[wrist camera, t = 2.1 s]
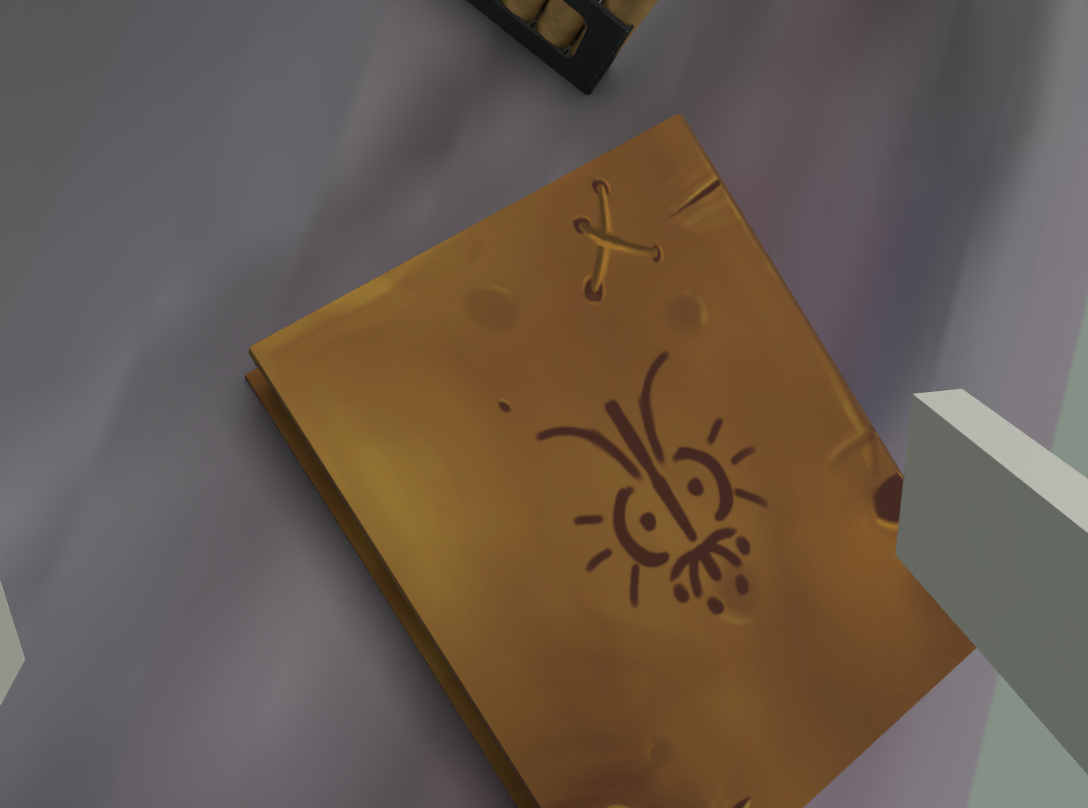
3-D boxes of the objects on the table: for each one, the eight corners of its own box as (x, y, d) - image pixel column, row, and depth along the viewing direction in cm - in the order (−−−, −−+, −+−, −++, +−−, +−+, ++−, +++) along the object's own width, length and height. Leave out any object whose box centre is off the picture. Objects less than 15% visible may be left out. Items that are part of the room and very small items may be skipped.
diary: (908, 613, 43) (1008, 620, 38) (576, 903, 37) (638, 961, 32) (634, 161, 43) (695, 102, 37) (243, 377, 36) (249, 345, 31)
